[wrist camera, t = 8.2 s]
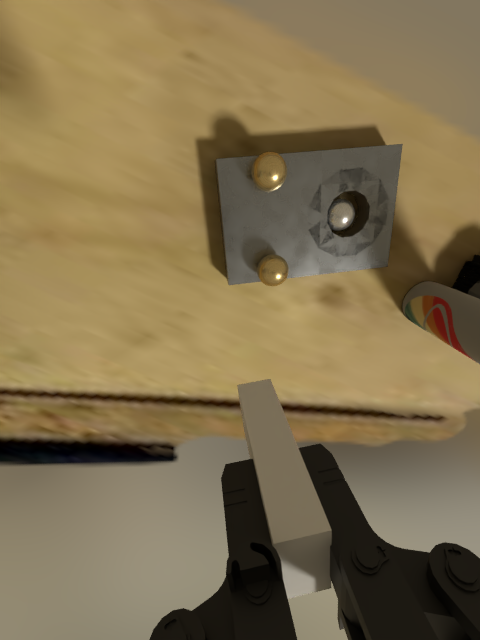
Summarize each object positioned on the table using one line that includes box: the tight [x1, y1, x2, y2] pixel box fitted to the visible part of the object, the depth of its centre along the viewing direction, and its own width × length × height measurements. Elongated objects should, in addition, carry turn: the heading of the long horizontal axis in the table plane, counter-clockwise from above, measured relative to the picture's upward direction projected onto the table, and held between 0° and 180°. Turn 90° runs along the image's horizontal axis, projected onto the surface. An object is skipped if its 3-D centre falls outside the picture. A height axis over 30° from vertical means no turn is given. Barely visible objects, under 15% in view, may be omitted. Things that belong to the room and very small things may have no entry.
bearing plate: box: [215, 144, 402, 285], centre depth 32 cm, size 18×12×2 cm, turn 95°
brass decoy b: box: [251, 152, 287, 192], centre depth 27 cm, size 3×3×3 cm
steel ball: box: [327, 199, 355, 231], centre depth 32 cm, size 3×3×3 cm
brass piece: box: [257, 254, 289, 286], centre depth 31 cm, size 3×3×3 cm
